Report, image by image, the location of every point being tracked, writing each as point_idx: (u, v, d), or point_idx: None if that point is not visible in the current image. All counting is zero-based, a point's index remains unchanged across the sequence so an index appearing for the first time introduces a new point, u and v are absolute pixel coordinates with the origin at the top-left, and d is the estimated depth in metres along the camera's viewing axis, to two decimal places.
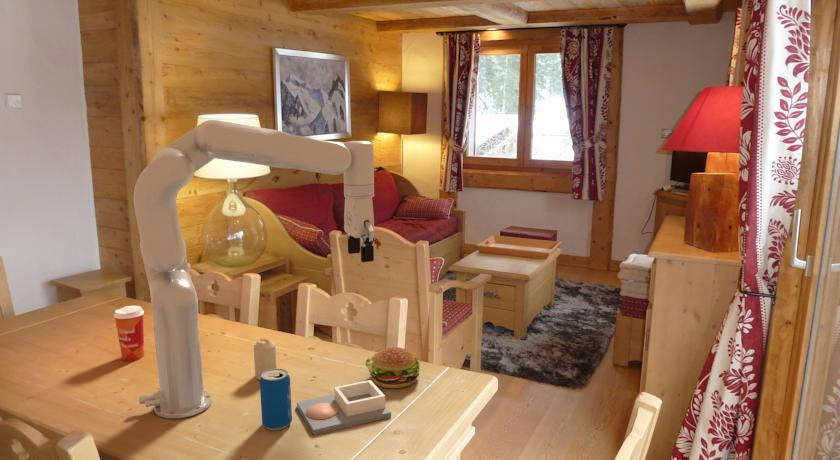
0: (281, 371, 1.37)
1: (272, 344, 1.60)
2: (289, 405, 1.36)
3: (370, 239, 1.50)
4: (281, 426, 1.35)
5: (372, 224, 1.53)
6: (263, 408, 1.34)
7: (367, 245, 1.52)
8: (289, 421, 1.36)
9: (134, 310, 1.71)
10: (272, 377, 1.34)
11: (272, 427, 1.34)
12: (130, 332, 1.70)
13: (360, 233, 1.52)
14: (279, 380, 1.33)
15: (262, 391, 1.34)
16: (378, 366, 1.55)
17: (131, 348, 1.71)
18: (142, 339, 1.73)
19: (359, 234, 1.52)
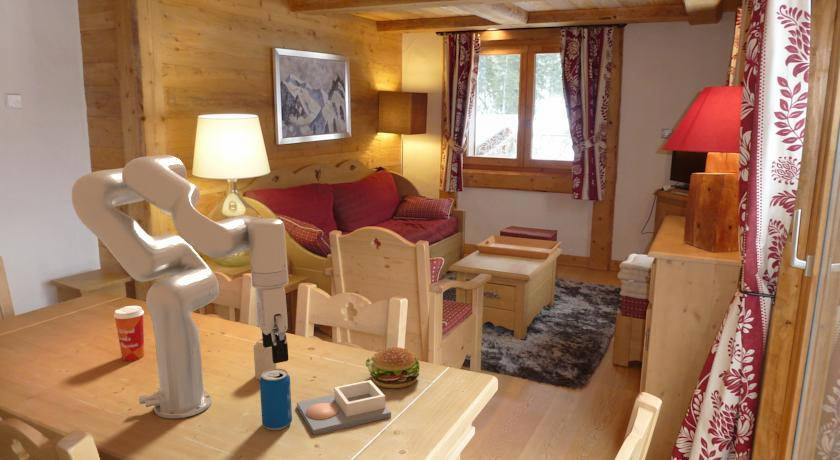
0: (281, 371, 1.37)
1: None
2: (289, 405, 1.36)
3: (281, 338, 1.26)
4: (281, 426, 1.35)
5: (285, 318, 1.29)
6: (263, 408, 1.34)
7: (278, 344, 1.27)
8: (289, 421, 1.36)
9: (134, 310, 1.71)
10: (272, 377, 1.34)
11: (272, 427, 1.34)
12: (130, 332, 1.70)
13: (270, 330, 1.27)
14: (279, 380, 1.33)
15: (262, 391, 1.34)
16: (378, 366, 1.55)
17: (131, 348, 1.71)
18: (142, 339, 1.73)
19: (269, 331, 1.27)
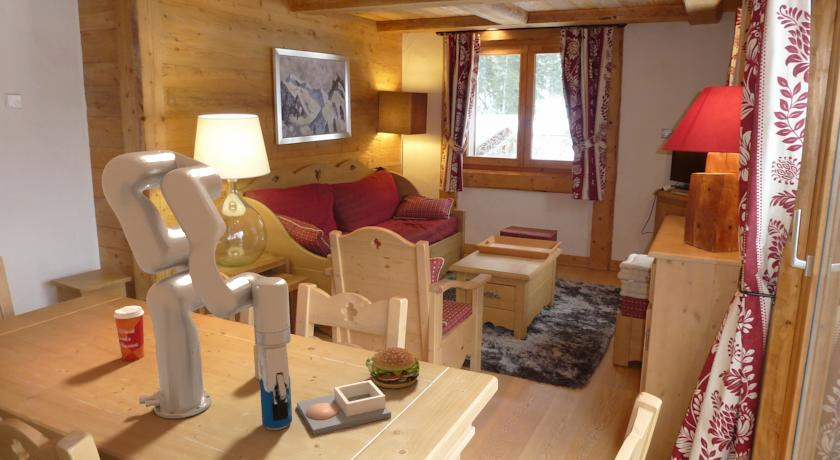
0: None
1: None
2: (289, 405, 1.36)
3: (281, 399, 1.30)
4: (281, 426, 1.35)
5: (286, 376, 1.31)
6: (263, 408, 1.34)
7: (279, 403, 1.32)
8: (289, 421, 1.36)
9: (134, 310, 1.71)
10: None
11: (272, 427, 1.34)
12: (130, 332, 1.70)
13: (272, 388, 1.30)
14: None
15: (262, 391, 1.34)
16: (378, 366, 1.55)
17: (131, 348, 1.71)
18: (142, 339, 1.73)
19: (270, 389, 1.30)
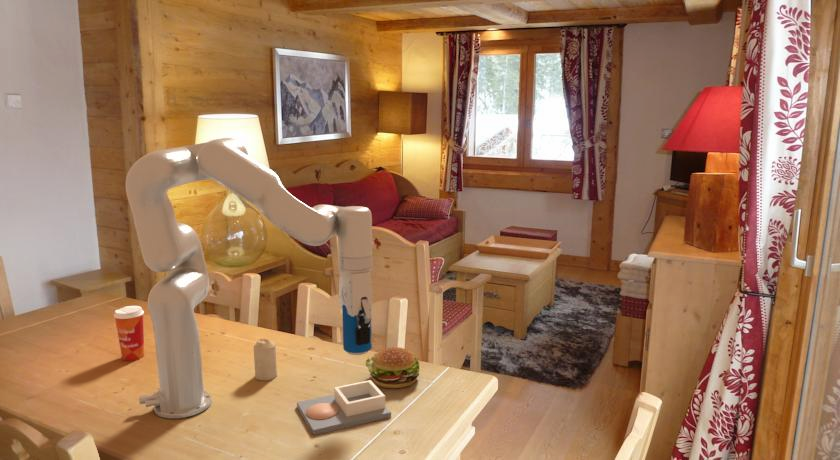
0: None
1: (272, 344, 1.60)
2: (370, 331, 1.40)
3: (366, 322, 1.34)
4: (363, 351, 1.39)
5: (370, 301, 1.35)
6: (346, 333, 1.39)
7: (362, 327, 1.36)
8: (370, 347, 1.40)
9: (134, 310, 1.71)
10: None
11: (354, 352, 1.38)
12: (130, 332, 1.70)
13: (357, 312, 1.34)
14: None
15: (345, 316, 1.38)
16: (378, 366, 1.55)
17: (131, 348, 1.71)
18: (142, 339, 1.73)
19: (355, 313, 1.34)
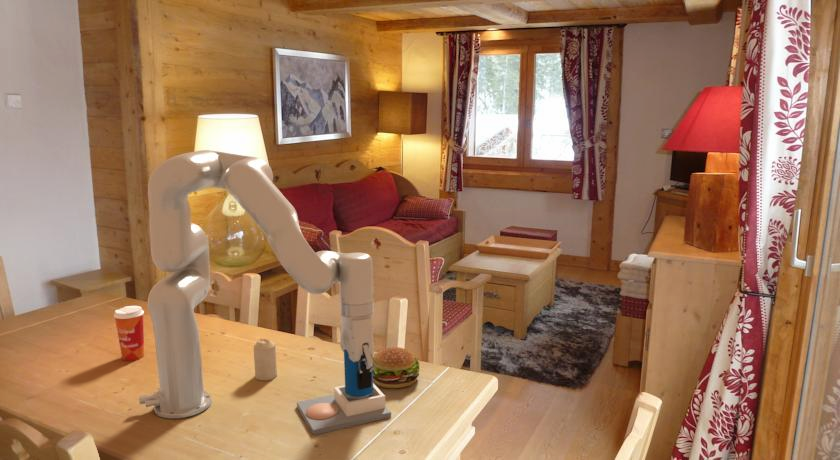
0: None
1: (272, 344, 1.60)
2: (371, 375, 1.42)
3: (367, 368, 1.36)
4: (365, 394, 1.41)
5: (371, 346, 1.38)
6: (348, 377, 1.41)
7: (364, 372, 1.38)
8: (371, 390, 1.43)
9: (134, 310, 1.71)
10: None
11: (356, 395, 1.41)
12: (130, 332, 1.70)
13: (358, 357, 1.37)
14: None
15: (347, 361, 1.40)
16: (378, 366, 1.55)
17: (131, 348, 1.71)
18: (142, 339, 1.73)
19: (357, 359, 1.37)
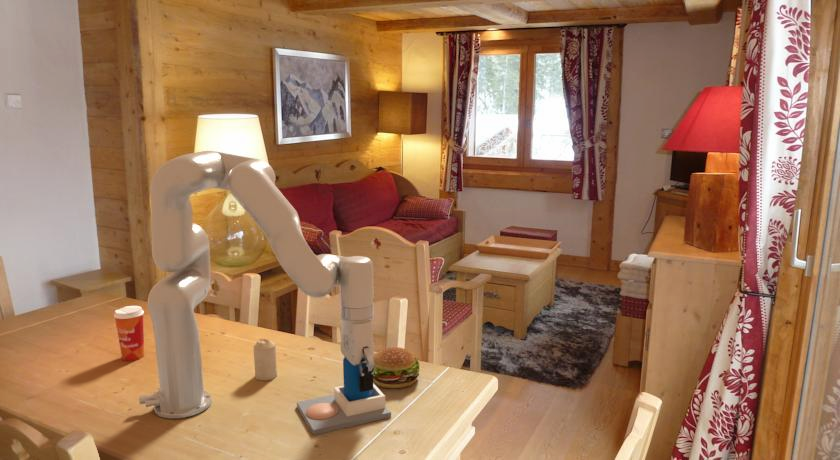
0: None
1: (272, 344, 1.59)
2: None
3: (369, 369, 1.35)
4: None
5: (371, 350, 1.38)
6: (346, 387, 1.41)
7: (366, 374, 1.37)
8: None
9: (134, 310, 1.71)
10: None
11: None
12: (130, 332, 1.70)
13: (358, 361, 1.37)
14: (362, 360, 1.40)
15: (346, 370, 1.41)
16: (378, 366, 1.55)
17: (131, 348, 1.71)
18: (142, 339, 1.73)
19: (357, 362, 1.37)
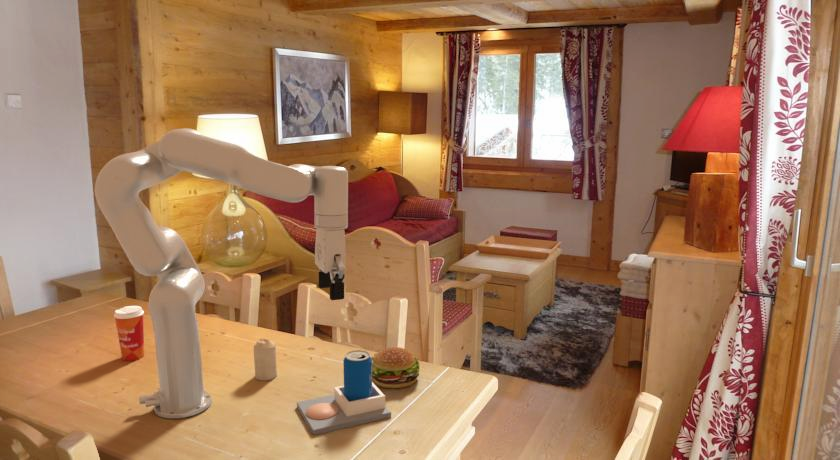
0: (363, 353, 1.43)
1: (272, 344, 1.60)
2: (370, 385, 1.42)
3: (340, 276, 1.36)
4: None
5: (343, 259, 1.39)
6: (346, 387, 1.41)
7: (337, 282, 1.38)
8: None
9: (134, 310, 1.71)
10: (355, 358, 1.41)
11: None
12: (130, 332, 1.70)
13: (329, 268, 1.38)
14: (362, 361, 1.40)
15: (346, 371, 1.40)
16: (378, 366, 1.55)
17: (131, 348, 1.71)
18: (142, 339, 1.73)
19: (328, 269, 1.38)
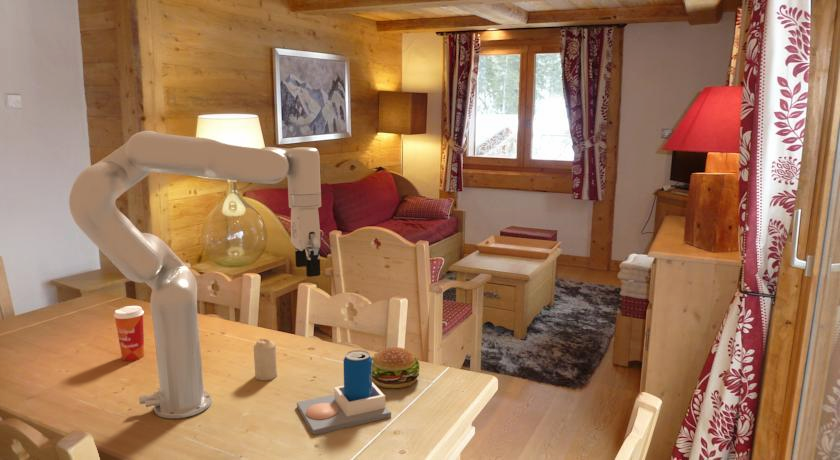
0: (363, 353, 1.44)
1: (272, 344, 1.60)
2: (370, 385, 1.43)
3: (315, 252, 1.41)
4: None
5: (318, 236, 1.43)
6: (346, 387, 1.41)
7: (312, 259, 1.42)
8: None
9: (134, 310, 1.71)
10: (355, 357, 1.41)
11: None
12: (130, 332, 1.70)
13: (305, 246, 1.42)
14: (362, 360, 1.40)
15: (346, 370, 1.41)
16: (378, 366, 1.55)
17: (131, 348, 1.71)
18: (142, 339, 1.73)
19: (304, 247, 1.42)
